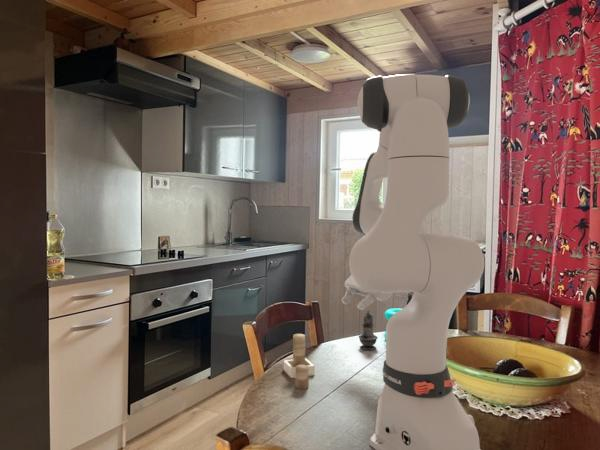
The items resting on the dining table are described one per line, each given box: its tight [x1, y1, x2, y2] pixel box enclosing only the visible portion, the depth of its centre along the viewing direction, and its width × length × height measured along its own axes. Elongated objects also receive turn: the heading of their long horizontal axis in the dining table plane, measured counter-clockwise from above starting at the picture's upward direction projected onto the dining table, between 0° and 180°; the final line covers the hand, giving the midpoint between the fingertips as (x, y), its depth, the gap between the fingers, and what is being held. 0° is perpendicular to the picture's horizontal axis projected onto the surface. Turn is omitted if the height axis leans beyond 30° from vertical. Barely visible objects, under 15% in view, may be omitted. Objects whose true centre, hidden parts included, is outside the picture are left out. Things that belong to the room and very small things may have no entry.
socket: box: [283, 357, 315, 379], centre depth 119 cm, size 6×6×2 cm
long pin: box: [292, 333, 306, 367], centre depth 119 cm, size 3×3×10 cm
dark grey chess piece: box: [358, 310, 378, 352], centre depth 140 cm, size 6×6×12 cm
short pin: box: [295, 365, 310, 391], centre depth 109 cm, size 3×3×5 cm
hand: (351, 305), depth 121 cm, fingers open, 8 cm apart
